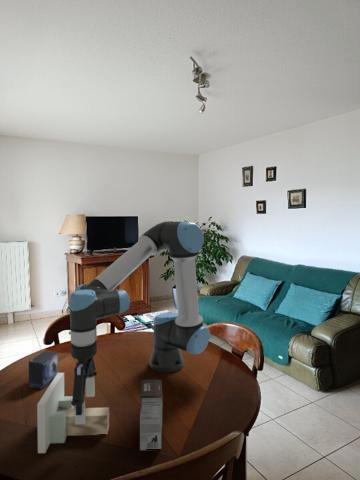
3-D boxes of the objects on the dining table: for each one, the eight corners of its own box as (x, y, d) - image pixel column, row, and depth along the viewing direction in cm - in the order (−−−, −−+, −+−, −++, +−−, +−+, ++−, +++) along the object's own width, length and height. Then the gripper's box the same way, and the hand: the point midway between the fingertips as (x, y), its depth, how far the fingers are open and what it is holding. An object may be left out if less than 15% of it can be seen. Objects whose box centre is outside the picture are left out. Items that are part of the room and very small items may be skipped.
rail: (109, 425, 99) (109, 406, 99) (107, 434, 95) (107, 414, 95) (58, 427, 98) (58, 407, 98) (54, 436, 94) (53, 415, 94)
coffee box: (140, 429, 97) (140, 379, 96) (161, 428, 98) (161, 378, 97) (139, 451, 88) (139, 395, 87) (162, 450, 89) (162, 394, 88)
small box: (42, 390, 119) (42, 363, 118) (27, 388, 120) (27, 361, 120) (59, 376, 130) (58, 351, 129) (44, 375, 131) (44, 350, 130)
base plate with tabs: (76, 412, 105) (76, 372, 104) (60, 452, 87) (59, 403, 87) (58, 413, 105) (57, 372, 104) (37, 453, 87) (37, 404, 86)
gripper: (81, 327, 107) (82, 387, 109) (58, 361, 82) (60, 438, 84) (103, 326, 108) (104, 386, 109) (87, 360, 83) (89, 436, 85)
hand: (85, 409), depth 97 cm, fingers open, 13 cm apart
